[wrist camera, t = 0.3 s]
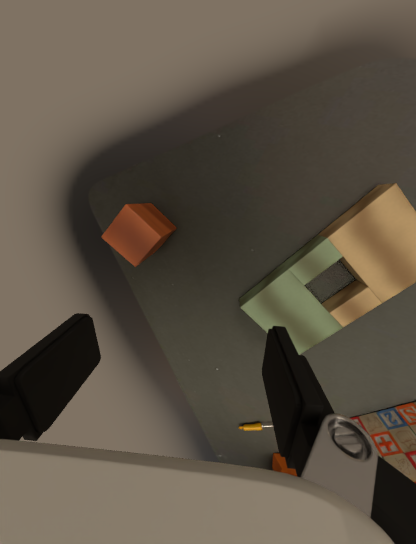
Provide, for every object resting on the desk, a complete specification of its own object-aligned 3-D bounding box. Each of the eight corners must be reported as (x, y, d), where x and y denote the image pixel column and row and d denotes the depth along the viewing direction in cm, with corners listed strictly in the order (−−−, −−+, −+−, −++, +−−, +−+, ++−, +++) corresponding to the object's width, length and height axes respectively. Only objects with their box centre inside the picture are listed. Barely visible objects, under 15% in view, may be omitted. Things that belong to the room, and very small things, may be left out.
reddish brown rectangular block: (151, 202, 25) (125, 203, 19) (177, 228, 26) (161, 237, 20) (130, 228, 27) (100, 237, 20) (156, 251, 28) (135, 267, 21)
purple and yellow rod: (322, 417, 36) (238, 423, 39) (326, 424, 35) (238, 430, 38) (322, 422, 38) (240, 428, 40) (324, 430, 37) (241, 435, 39)
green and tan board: (378, 184, 23) (396, 182, 20) (428, 255, 25) (450, 261, 23) (238, 299, 29) (240, 307, 27) (288, 346, 32) (294, 358, 29)
